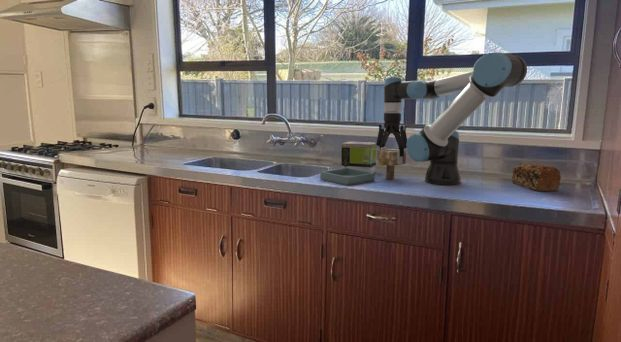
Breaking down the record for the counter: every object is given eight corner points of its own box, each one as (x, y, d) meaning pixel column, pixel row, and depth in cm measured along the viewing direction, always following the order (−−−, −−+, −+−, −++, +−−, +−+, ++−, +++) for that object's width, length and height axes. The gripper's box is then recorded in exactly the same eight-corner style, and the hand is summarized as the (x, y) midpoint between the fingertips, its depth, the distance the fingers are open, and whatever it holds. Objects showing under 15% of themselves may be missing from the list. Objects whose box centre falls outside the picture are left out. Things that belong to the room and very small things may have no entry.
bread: (560, 191, 181) (562, 167, 180) (535, 192, 180) (537, 167, 179) (533, 182, 200) (535, 160, 198) (510, 183, 199) (512, 160, 197)
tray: (374, 180, 201) (374, 173, 201) (347, 185, 191) (347, 177, 190) (346, 175, 214) (346, 167, 214) (320, 179, 204) (320, 171, 203)
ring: (405, 163, 204) (405, 150, 203) (388, 166, 197) (389, 152, 196) (390, 161, 211) (390, 148, 210) (373, 164, 203) (373, 150, 202)
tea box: (376, 172, 224) (377, 142, 221) (370, 175, 215) (370, 144, 212) (347, 169, 230) (348, 140, 228) (340, 172, 221) (341, 142, 219)
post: (393, 178, 206) (394, 160, 204) (389, 179, 204) (390, 160, 202) (389, 178, 208) (390, 159, 206) (385, 178, 206) (386, 159, 204)
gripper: (417, 112, 195) (416, 164, 199) (379, 111, 211) (378, 159, 215) (406, 113, 190) (405, 166, 194) (368, 112, 207) (368, 160, 210)
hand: (391, 162), depth 204 cm, fingers closed on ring, 9 cm apart
